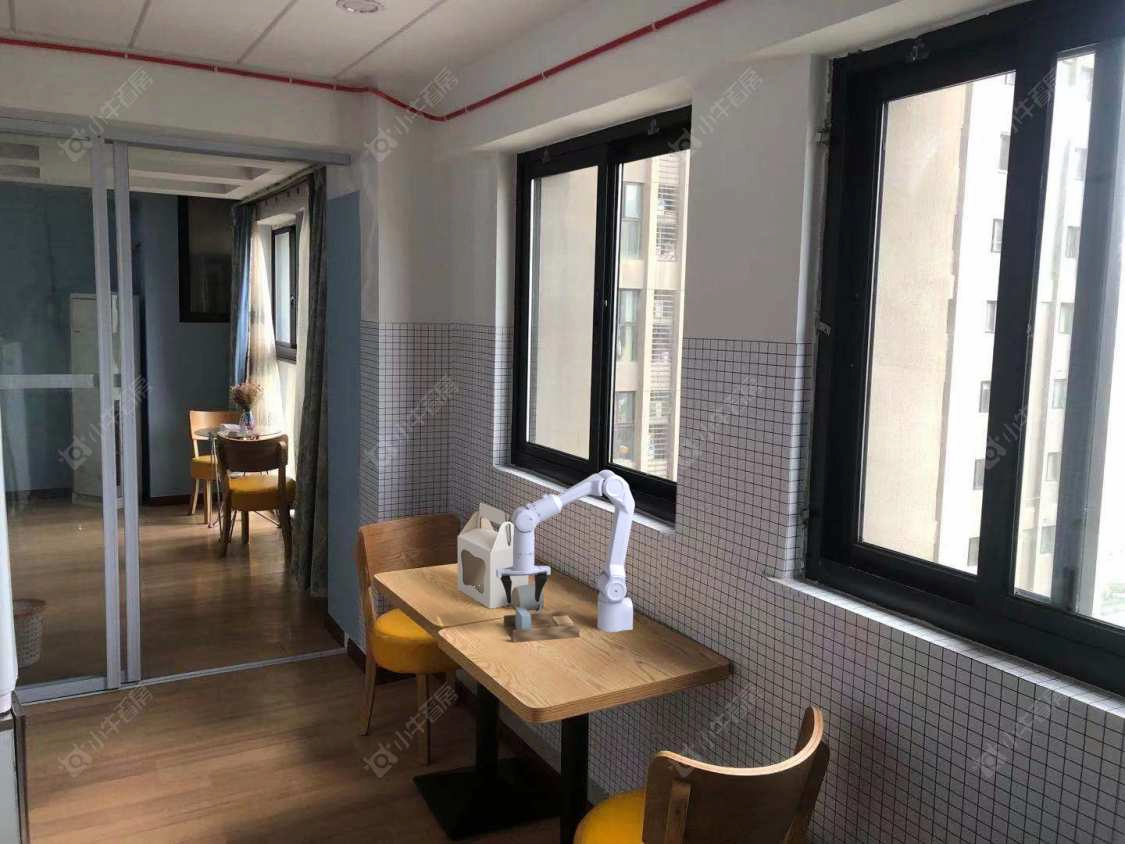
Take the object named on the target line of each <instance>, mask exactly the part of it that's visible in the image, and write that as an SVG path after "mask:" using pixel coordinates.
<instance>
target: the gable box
mask: <svg viewBox="0 0 1125 844" xmlns="http://www.w3.org/2000/svg"><path fill="white" fill-rule="evenodd" d="M511 515H512V514H509V513H507V512H506V510H503V509H500V508H497V507H495V506H493V505H490V504H488V503H485V502H482V501H481V502H480V503H479V510H475V511H474V512H473V513H472V514H471V516H470V517H469V519H468V520H467V522H466V524H465V525H464V526H463V528H462V529H461V531H460V532H459V534H458V535H457V590H458V589H459V590H460V591H459V590H458V591H459V592H461V591H462V592H463V593H462V592H461V593H462V594H464V593H465V594H464V595H466V596H467V595H468V597H469V598H471V599H472V598H473V600H474V601H476V602H477V601H478V603H479V602H480V603H479V604H481V605H482V604H483V606H484V607H486V608H487V607H488V608H487V609H489V608H493V609H497V608H496V607H499V608H502V607H501V606H504V607H508V606H507V605H510V606H513V601H512V591H513V589H514V588H515V587H518V586H523V585H529V579H530V578H529V576H530V575H525V576H510V578H511V581H512V586H511V604H508V602H507V597H506V592H505V589H504V586H503V584H502V581H501V579H500V578H497V576H496V569H502V568H508V567H513V535H514V526H515V525H514V524H513V522H512V521H509V520H510V518H511V517H512V516H511ZM491 522H493V523H495V524H498V525H499V529H498V530H497V531H496V530H495V529H494V527H493V526H492V524H491ZM479 585H480V586H479ZM474 586H475V587H474Z"/></svg>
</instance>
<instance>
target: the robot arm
mask: <svg viewBox="0 0 1125 844" xmlns="http://www.w3.org/2000/svg"><path fill="white" fill-rule="evenodd" d="M629 485H630V484H628V482H627V481H626V480H625V479H624V478H623V477H621V476H619V475H617V474H615V472H613V471H612V470H609V469H603V470H601V471H600V472H598V473H593V474H591V475H590V476H588V477H587V478H584V479H583V480H582V481H580V482H578V483H576V484H575V485H573V486H570V487H569V488H568V489H565V490H564V491H562V492H561V493H559V494H557V495H556V494H553V493H549V494H547V493H544V494H542V495H541V498H538V499H537V500H535V501H533V502H528V503H526V504H525V506H519V507H518V508H516V509H515V510H514V511H513V513H512V514H511V515H512V516H510V518H511V519H510V520H511V523H512V524H513V525H514V535H513V567H508V568H502V569H496V576H497V578H500V579H501V581H502V584H503V586H504V589H505V592H506V597H507V602H508V604H511V586H512V581H511V578H510V576H525V575H529V576H534V584H535V600H536V602H539V599H540V595H541V592H542V590H543V588H544V587H545V584H547V582H548V576H550V575H551V570H552V569H551V567H550V566H549V565H535V537H536V536H535V529H536V527H537V526H538V524H540V523H543V522H545V521H546V520H549V519H550V518H553V517H555V516H556V515H559V514H560V513H561V511H562V509H563V507H564V506H566V505H568V504H571V503H574V502H575V501H578V500H580V499H582V498H584V497H587V496H588V495H592V496H598V497H602V496H603V494H604V495H605V496H606V497H607V498H608V499H609V501H610V502H611V503H612V504H613V506H614V511H613V512H614V513H613V518H612V524H611V528H610V535H609V541H608V547H607V552H606V557H605V558H606V559H605V562H604V564H603V565H602V566H601V570H600V573H599V574H598V575H597V577H596V581H595V585H596V588H597V590H598V591H599V594H598V596H597V621H596V622H597V626H596V627H597V629H598V630H599V631H602V632H606V633H607V632H608V633H616V632H620V631H631V630H633V629H634V627H633V626H634V605H633V601H632V599H631V598H630V597H625V596H627V595H626V594H627V592H628V590H627V585H626V569H625V563H626V559H627V558H626V557H627V552H628V546H629V540H630V536H631V535H630V534H631V530H632V525H633V524H632V523H633V519H634V512H635V506H636V504H635V503H636V502H635V500H634V496H633V495H632V492H631V490H630V486H629Z"/></svg>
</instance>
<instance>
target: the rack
mask: <svg viewBox="0 0 1125 844" xmlns="http://www.w3.org/2000/svg"><path fill="white" fill-rule="evenodd" d="M530 615H531V629H523V630H516V628H515V620H516V614H507V615H506V614H504V615H503V628H504V629H505V631H506V633H507V634H508V636H509V638H510V639H511V641H512V643H514V644H515V643H516V644H517V643H526V642H528V643H529V642H538V641H539V642H541V641H552V640H564V639H575V638H580V630H581V629H580V627H581V626H580V625H579V624H575V625H573V626H560V627H550V621H552V617H554V616H568V617H569V615H568V610H561V611H560V610H559V611H547V612H545V611H544V612H540V613H535V612H530Z"/></svg>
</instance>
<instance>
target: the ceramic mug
mask: <svg viewBox="0 0 1125 844" xmlns="http://www.w3.org/2000/svg"><path fill="white" fill-rule="evenodd" d="M544 598H545V597H544V591H543V589H542V592H541V595H540V599H539V602H536V600H535V583H531V584H530V583H528V585H523V586H518V587H515V588H514V589H513V591H512V601H513V605H512V606H513V608H514V609H515V610H516V607H525V608H526V610H527V611H528V613H529V614H530V613H531V612H529V611H530V610H537V611H535V612H534V613H542V609H543V608H544V605H545V604H544V603H545V601H544V600H545V599H544Z"/></svg>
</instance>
